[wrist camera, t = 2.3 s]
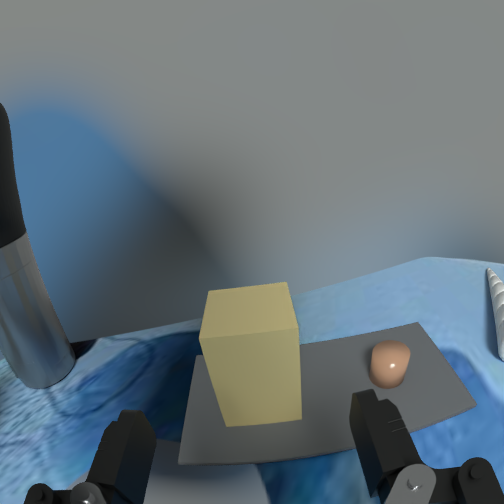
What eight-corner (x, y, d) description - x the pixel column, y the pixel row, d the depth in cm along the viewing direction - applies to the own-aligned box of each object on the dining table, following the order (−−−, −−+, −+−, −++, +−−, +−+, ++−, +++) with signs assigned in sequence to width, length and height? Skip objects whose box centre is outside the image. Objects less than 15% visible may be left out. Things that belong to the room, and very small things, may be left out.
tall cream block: (226, 426, 23) (198, 338, 19) (228, 376, 29) (208, 290, 25) (301, 419, 22) (298, 327, 19) (292, 369, 28) (286, 281, 25)
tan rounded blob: (375, 392, 24) (380, 369, 22) (364, 367, 27) (367, 344, 26) (410, 383, 23) (416, 360, 22) (396, 359, 27) (401, 336, 26)
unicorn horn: (505, 273, 37) (510, 246, 36) (527, 369, 20) (542, 333, 18) (482, 270, 40) (486, 243, 38) (493, 365, 22) (507, 329, 21)
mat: (179, 464, 19) (177, 462, 19) (197, 358, 32) (196, 355, 32) (475, 406, 19) (476, 403, 18) (417, 324, 32) (417, 322, 32)
